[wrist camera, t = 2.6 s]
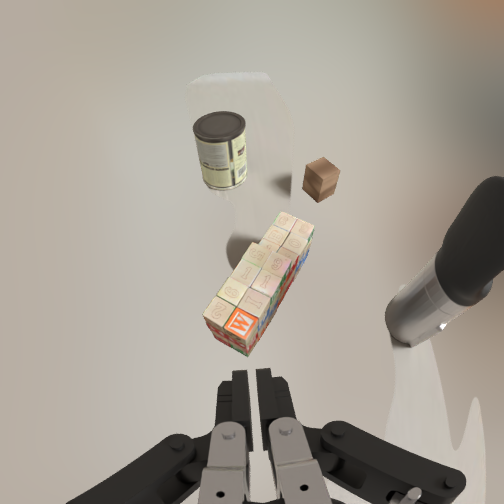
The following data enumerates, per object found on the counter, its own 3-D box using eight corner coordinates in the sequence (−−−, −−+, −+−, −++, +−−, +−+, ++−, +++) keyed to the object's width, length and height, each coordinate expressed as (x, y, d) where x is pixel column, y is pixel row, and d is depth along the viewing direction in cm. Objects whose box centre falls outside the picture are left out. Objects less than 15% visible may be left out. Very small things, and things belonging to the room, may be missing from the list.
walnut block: (333, 193, 60) (340, 170, 54) (317, 203, 58) (323, 179, 52) (318, 180, 62) (323, 156, 56) (302, 188, 60) (306, 164, 54)
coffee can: (206, 160, 66) (198, 111, 54) (249, 160, 65) (247, 110, 53) (198, 190, 61) (187, 139, 49) (245, 191, 60) (242, 138, 48)
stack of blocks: (277, 241, 53) (282, 197, 43) (307, 256, 52) (320, 213, 41) (214, 339, 44) (200, 314, 33) (248, 358, 42) (245, 340, 32)
